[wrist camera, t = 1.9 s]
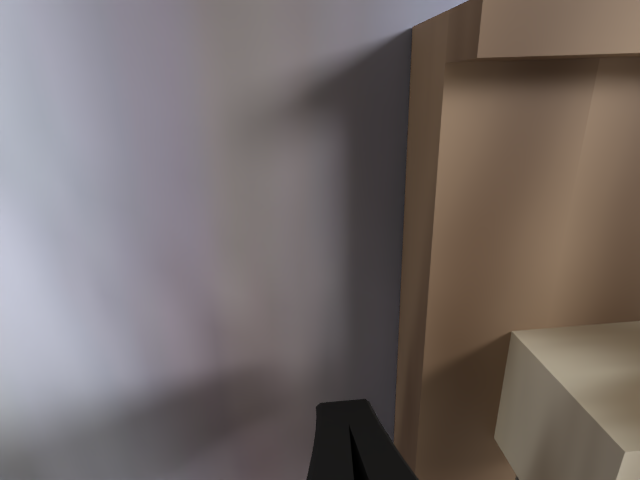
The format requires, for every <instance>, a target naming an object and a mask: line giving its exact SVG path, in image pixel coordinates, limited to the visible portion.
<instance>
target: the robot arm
mask: <svg viewBox="0 0 640 480" xmlns="http://www.w3.org/2000/svg"><path fill="white" fill-rule="evenodd" d="M316 416H317V418H316V432H315V439H314V446H313V452H312V457H311V461H310V466H309V471H308V476H307V480H419V479H418V478H417V476H416V475H415V474H414V472H413V471H412V470H411V468H410V467H409V465H408V464H407V462H406V461H405V460H404V458H403V457H402V455H401V454H400V452H399V451H398V450H397V448H396V447H395V445H394V444H393V442H392V440H391V439H390V437H389V436H388V434H387V432H386V431H385V429H384V428H383V426H382V424H381V423H380V421H379V419H378V417H377V416H376V414H375V412H374V410H373V408H372V406H371V404H370V402H369V401H367V400H366V399H360V400H349V401H337V402H326V403H320V404H319V405H318V406H316Z"/></svg>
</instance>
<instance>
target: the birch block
mask: <svg viewBox="0 0 640 480" xmlns="http://www.w3.org/2000/svg"><path fill="white" fill-rule="evenodd" d="M494 439H495V440H496V442H497V444H498V445H499V447H500V449H501V450H502V452H503V454H504V455H505V457H506V459H507V460H508V462H509V464H510V465H511V467H512V469H513V470H514V472H515V474H516V475H517V477H518V479H519V480H640V321H633V322H620V323H608V324H595V325H583V326H570V327H558V328H545V329H533V330H520V331H512V332H511V338H510V344H509V350H508V356H507V362H506V368H505V374H504V380H503V386H502V392H501V398H500V404H499V411H498V417H497V423H496V429H495V435H494Z"/></svg>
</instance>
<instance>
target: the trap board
mask: <svg viewBox="0 0 640 480" xmlns="http://www.w3.org/2000/svg"><path fill="white" fill-rule="evenodd" d="M633 321H640V0H469V1H467V2H464V3H462V4H460V5H458V6H456V7H454V8H452V9H450V10H448V11H445V12H443V13H441V14H439V15H437V16H435V17H433V18H431V19H428V20H426V21H424V22H422V23H420V24H418V25H416V26H414V27H413V28H412V50H411V72H410V94H409V116H408V138H407V160H406V182H405V204H404V226H403V249H402V271H401V293H400V315H399V337H398V359H397V381H396V403H395V425H394V445H395V447H396V448H397V450H398V451H399V452H400V454H401V455H402V457H403V458H404V460H405V461H406V462H407V464H408V465H409V467H410V468H411V470H412V471H413V472H414V474H415V475H416V476H417V478H418V479H419V480H519V479H518V477H517V475H516V474H515V472H514V470H513V469H512V467H511V465H510V464H509V462H508V460H507V459H506V457H505V455H504V454H503V452H502V450H501V449H500V447H499V445H498V444H497V442H496V440H495V439H494V435H495V429H496V423H497V417H498V411H499V404H500V398H501V392H502V386H503V380H504V374H505V368H506V362H507V356H508V350H509V344H510V338H511V332H512V331H520V330H533V329H545V328H558V327H570V326H583V325H595V324H608V323H620V322H633Z"/></svg>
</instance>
